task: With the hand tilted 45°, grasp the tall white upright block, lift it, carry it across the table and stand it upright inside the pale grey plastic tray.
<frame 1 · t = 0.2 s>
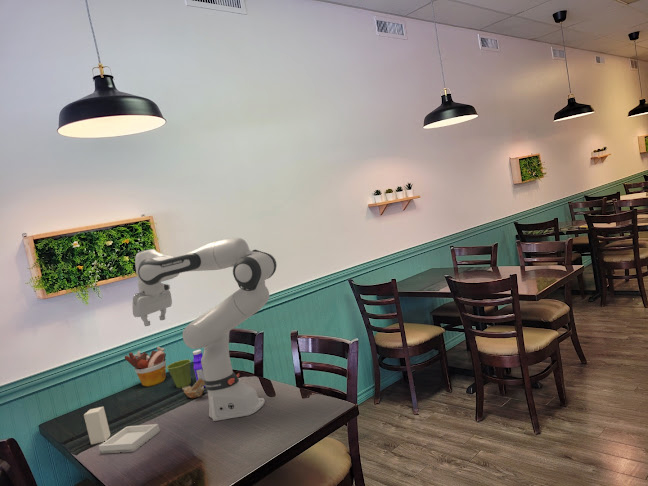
hand: (155, 322, 199), 39 cm above the table, tool pointing down, fingers open, 8 cm apart
tray: (131, 442, 182), on the table
plant pot: (183, 385, 242), on the table
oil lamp: (195, 396, 222), on the table
white upright block: (100, 439, 192), on the table
bottle: (205, 386, 234), on the table
bucket of meat: (153, 383, 259), on the table
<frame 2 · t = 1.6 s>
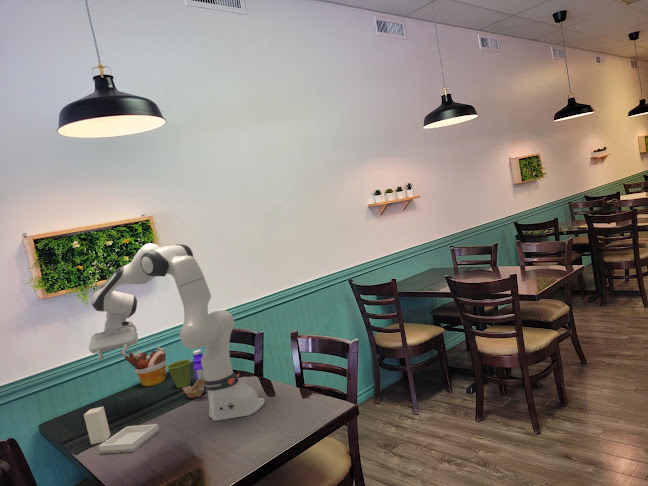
hand: (111, 356, 208), 28 cm above the table, tool tilted 45°, fingers open, 8 cm apart
nothing on the table moved.
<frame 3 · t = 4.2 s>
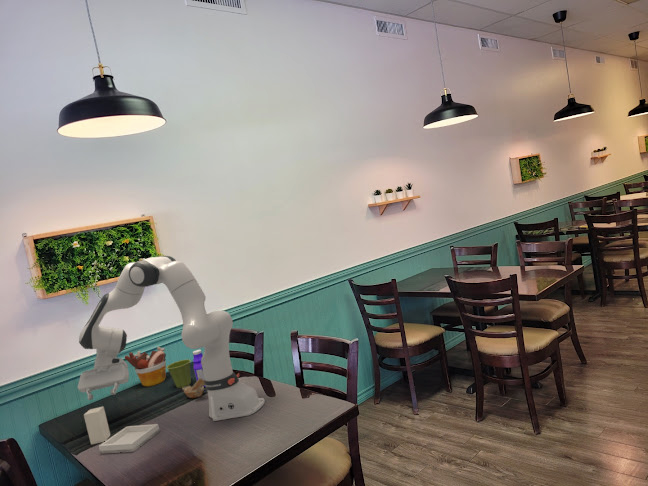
hand: (101, 396, 200), 14 cm above the table, tool tilted 45°, fingers open, 8 cm apart
nothing on the table moved.
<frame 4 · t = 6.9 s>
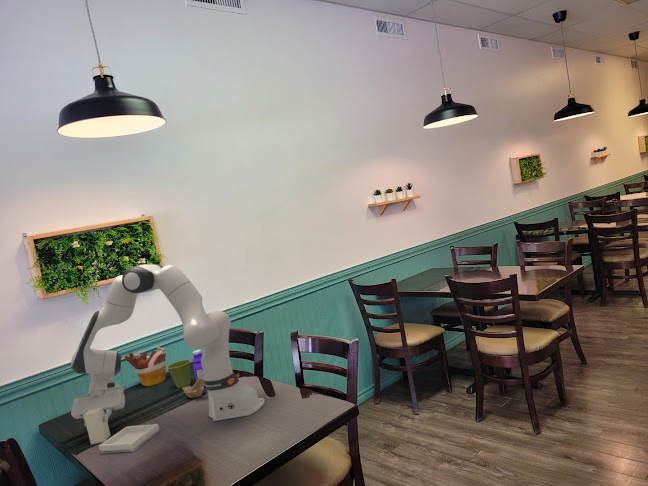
hand: (96, 423, 191), 7 cm above the table, tool tilted 45°, fingers closed on white upright block, 5 cm apart
white upright block: (100, 439, 192), on the table, touching gripper
everything else where it was.
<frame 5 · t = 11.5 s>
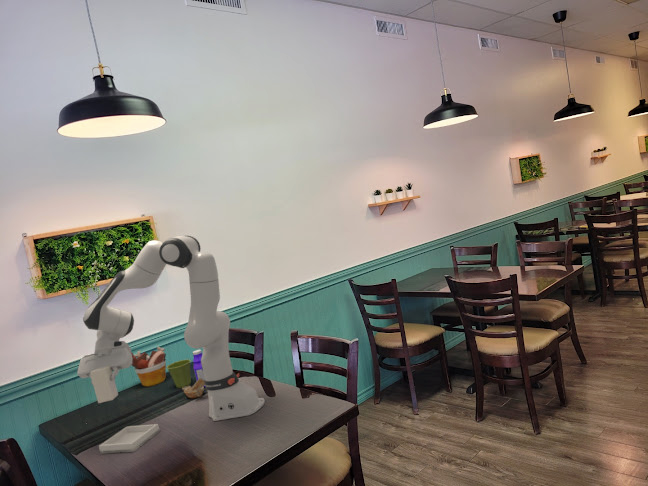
hand: (103, 382, 185), 24 cm above the table, tool tilted 45°, fingers closed on white upright block, 5 cm apart
white upright block: (108, 398, 185), point 17 cm above the table, touching gripper
everything else where it was.
when the fingers open (9 cm above the table, at t = 16.5 s): white upright block drops 1 cm, resting on tray.
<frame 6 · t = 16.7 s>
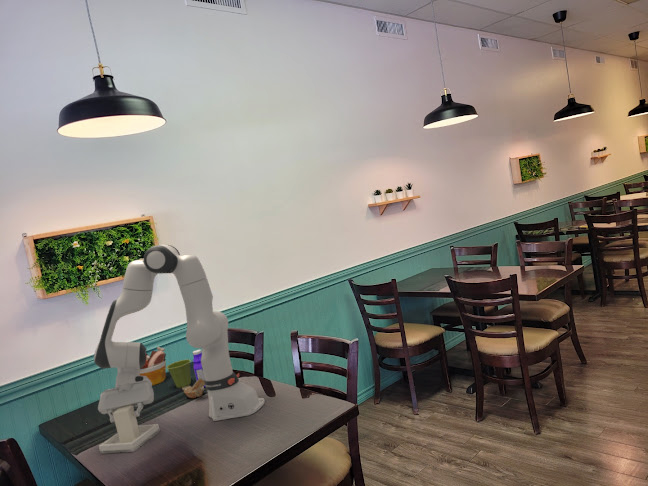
hand: (124, 418, 181), 9 cm above the table, tool tilted 45°, fingers open, 8 cm apart
white upright block: (130, 439, 182), point 1 cm above the table, touching tray
everything else where it was.
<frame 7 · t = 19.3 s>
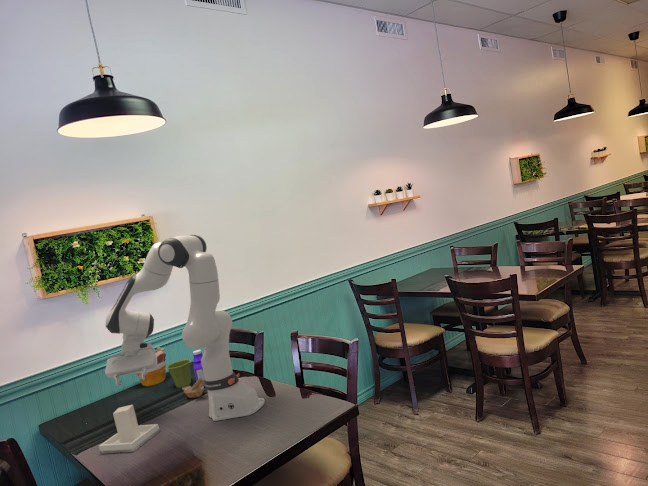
hand: (130, 382, 193), 19 cm above the table, tool tilted 45°, fingers open, 8 cm apart
nothing on the table moved.
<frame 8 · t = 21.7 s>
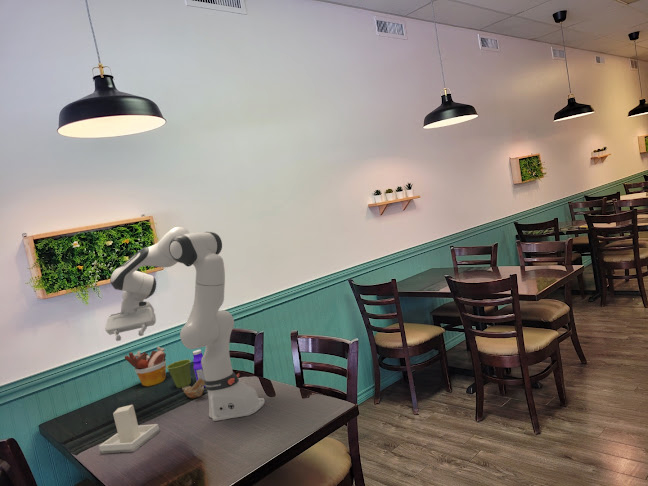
hand: (129, 337, 201), 35 cm above the table, tool tilted 45°, fingers open, 8 cm apart
nothing on the table moved.
at the end: white upright block inside the target area on the tray (0.1 cm from its centre), point 1.0 cm above the tray's base; white upright block tilted 0°; the gripper is holding nothing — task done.
